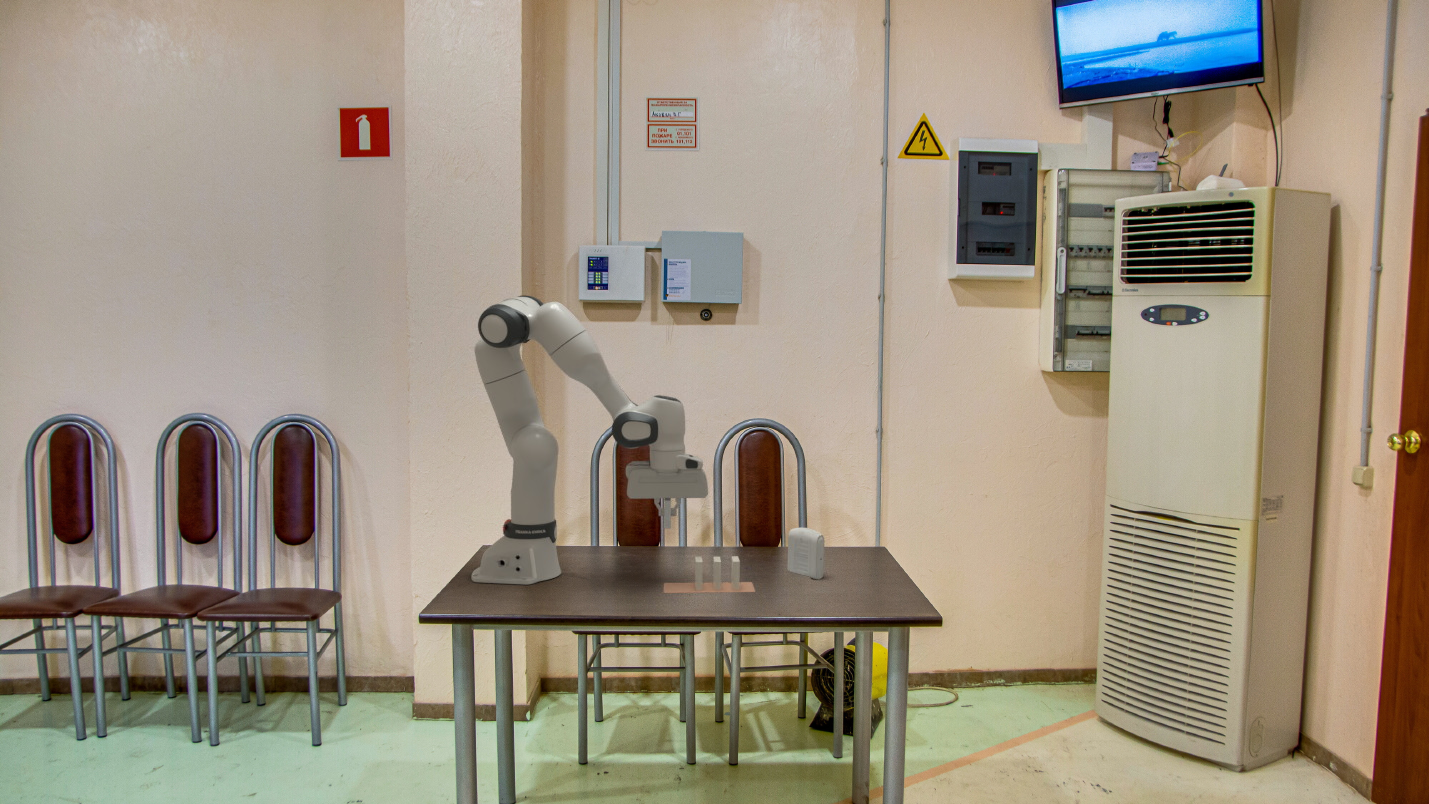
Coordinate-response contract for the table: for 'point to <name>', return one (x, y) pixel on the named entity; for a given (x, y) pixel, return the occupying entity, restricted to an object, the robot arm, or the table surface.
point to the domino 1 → (667, 513)
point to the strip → (706, 587)
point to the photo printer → (806, 552)
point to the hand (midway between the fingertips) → (667, 515)
